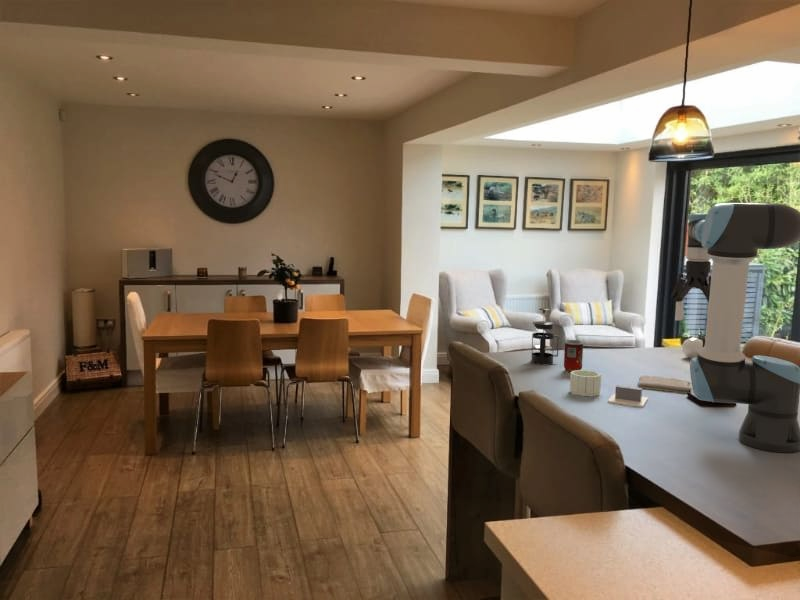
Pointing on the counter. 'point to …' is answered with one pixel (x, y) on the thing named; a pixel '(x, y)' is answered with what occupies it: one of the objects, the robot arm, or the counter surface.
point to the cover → (628, 396)
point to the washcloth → (664, 384)
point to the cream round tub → (585, 383)
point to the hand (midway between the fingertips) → (694, 323)
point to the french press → (543, 342)
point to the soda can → (573, 355)
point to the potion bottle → (692, 347)
